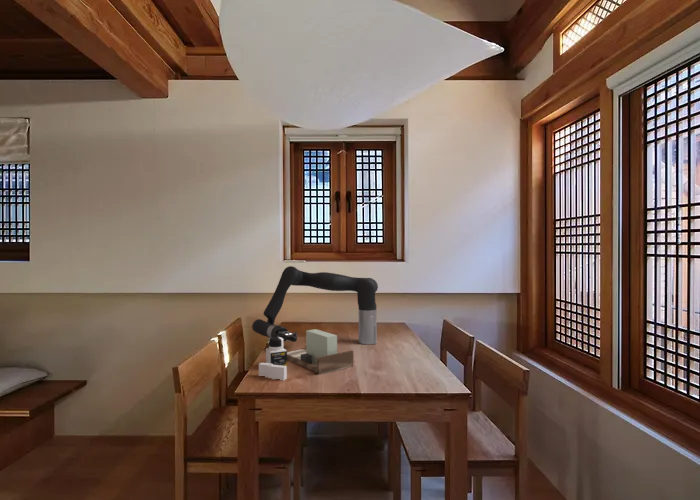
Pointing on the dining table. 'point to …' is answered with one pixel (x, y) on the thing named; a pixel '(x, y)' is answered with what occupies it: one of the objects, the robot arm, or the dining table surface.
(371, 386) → the dining table surface
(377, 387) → the dining table surface
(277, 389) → the dining table surface
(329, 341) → the block
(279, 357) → the medicine bottle
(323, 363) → the tray
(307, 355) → the trap posts
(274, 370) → the white rectangular block
